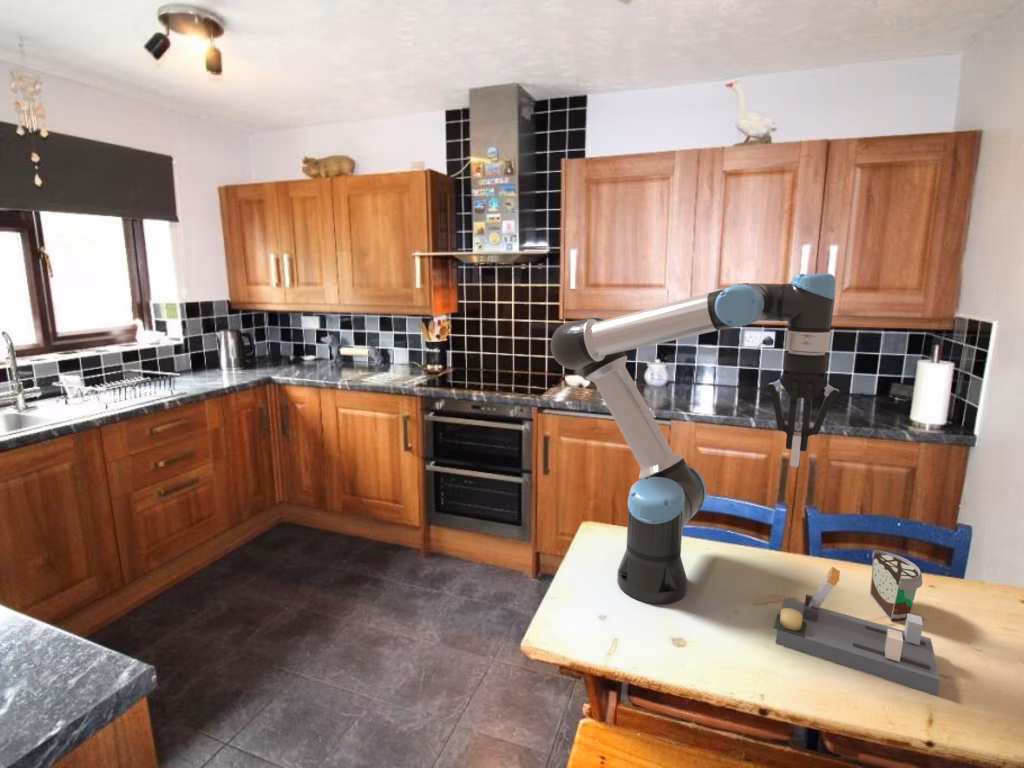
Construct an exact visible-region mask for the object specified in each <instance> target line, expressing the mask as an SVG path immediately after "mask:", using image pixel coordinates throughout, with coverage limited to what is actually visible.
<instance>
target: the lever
mask: <svg viewBox="0 0 1024 768" xmlns="http://www.w3.org/2000/svg"><path fill="white" fill-rule="evenodd" d="M840 573H841V572H840V570H839V569H837V568H836V567H833V566H831V568H829V570H828V572H827V575H826V576H825V578H824V579H823V581H822V582H821V584H819V587H817V589H816V590H815V592H814V593H813V595H811V596H812V598H811V599H810V602H809V606H808V608H812V609H815V610H818V608H819V607H821V605H822V604H823V603H824V601H825V600H826V598H827V596H828V595H829V594H830V592H831V591H832V589H833V588H834V587H836V585H837V583H838V582H839V581H840V578H841V577H840Z"/></svg>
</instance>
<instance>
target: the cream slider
mask: <svg viewBox="0 0 1024 768" xmlns="http://www.w3.org/2000/svg"><path fill="white" fill-rule="evenodd" d="M902 644H903V638H902V632H900V631H896V630H893V629H889V628H888V629H887V636H886V642H885V658H888V659H891V660H895V661H898V662H900V657H901V650H902Z"/></svg>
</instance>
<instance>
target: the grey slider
mask: <svg viewBox="0 0 1024 768" xmlns="http://www.w3.org/2000/svg"><path fill="white" fill-rule="evenodd" d="M923 626H924V624H923V621H922V616H919V615H915V614H912V613H910V614H909V613H907V619H906V620H905V626H904V631H905V632H904V634H905V640H906V642H910V643H913V644H917V645H920V639H921V636H922V634H923V633H922V632H923V628H924V627H923Z"/></svg>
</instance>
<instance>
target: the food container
mask: <svg viewBox="0 0 1024 768" xmlns="http://www.w3.org/2000/svg"><path fill="white" fill-rule="evenodd" d="M871 558H872V566H871V567H872V569H871V570H872V571H871V577H870V578H871V579H870V591H869V595H870V596H871V598H872V599H873V600H874V602H876V604H877V606H878V607H879V608H880V609H881V611H882V612H883V613H884V614H885V615H886V617H887V618H888V620H889V621H890V622H898V623H899V622H904V621H905V622H906V619H907V613H909V614H911V611H912V607H913V604H914V600H915V596H916V593H917V589H919V588H921V587H922V586H923V575H922V572H921V569H920V568H919V567H918V566H917V565H916V564H915V563H913V562H912V561H910V560H909V559H907V558H905V557H902V556H900V555H898V554H894V553H891V552H887V551H882V550H878V549H877V550H876V549H874V550H873V552H872V555H871Z"/></svg>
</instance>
